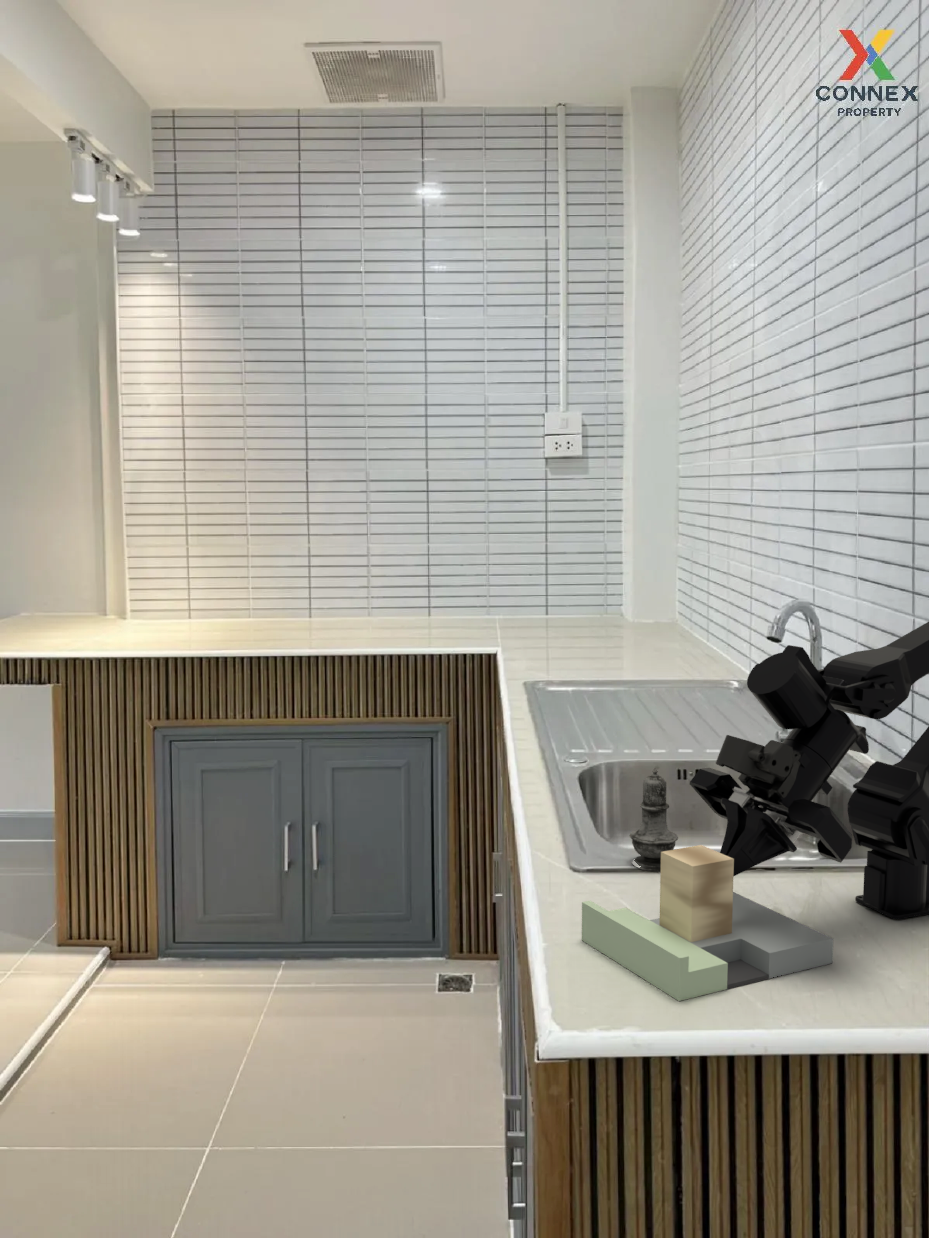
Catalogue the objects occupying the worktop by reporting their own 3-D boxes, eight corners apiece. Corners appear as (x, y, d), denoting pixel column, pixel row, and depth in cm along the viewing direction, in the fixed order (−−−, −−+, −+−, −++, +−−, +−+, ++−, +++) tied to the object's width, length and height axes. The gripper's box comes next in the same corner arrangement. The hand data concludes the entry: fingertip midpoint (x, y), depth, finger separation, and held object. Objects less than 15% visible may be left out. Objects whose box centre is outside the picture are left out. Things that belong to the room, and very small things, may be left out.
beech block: (699, 916, 119) (701, 844, 118) (731, 932, 114) (733, 858, 113) (659, 924, 116) (660, 851, 115) (691, 942, 112) (692, 866, 111)
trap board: (724, 910, 127) (725, 874, 127) (832, 962, 113) (833, 923, 113) (581, 939, 119) (581, 901, 118) (679, 1000, 105) (679, 958, 104)
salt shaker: (644, 874, 139) (646, 775, 138) (620, 859, 145) (621, 765, 143) (686, 868, 141) (689, 771, 140) (661, 854, 147) (663, 760, 145)
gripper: (706, 692, 125) (618, 805, 121) (835, 724, 108) (738, 855, 105) (760, 757, 129) (677, 868, 125) (892, 797, 113) (801, 926, 109)
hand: (718, 877), depth 116 cm, fingers closed
